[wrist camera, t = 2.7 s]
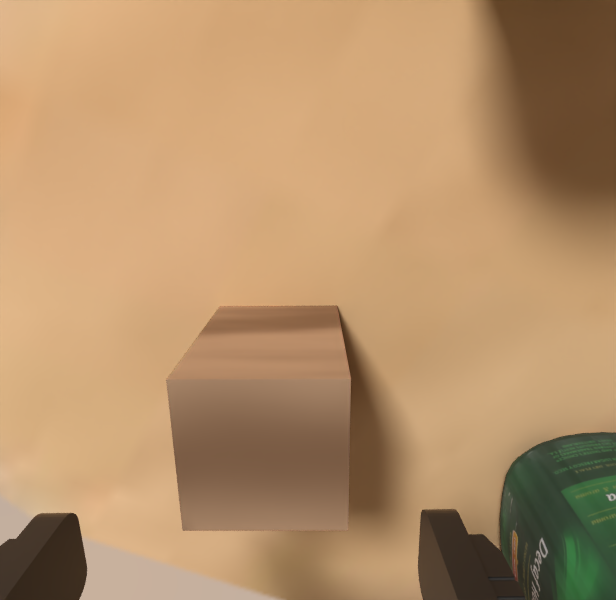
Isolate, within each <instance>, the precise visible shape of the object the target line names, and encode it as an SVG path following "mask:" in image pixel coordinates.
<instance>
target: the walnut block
mask: <svg viewBox="0 0 616 600" xmlns="http://www.w3.org/2000/svg"><path fill="white" fill-rule="evenodd" d="M166 381H167V390H168V400H169V409H170V418H171V427H172V437H173V446H174V455H175V464H176V474H177V483H178V492H179V501H180V511H181V520H182V529H183V531H348V512H349V458H350V403H351V376H350V371H349V366H348V361H347V355H346V350H345V345H344V339H343V334H342V329H341V324H340V318H339V313H338V308H337V306H220V307H219V308H218V310H217V311H216V312H215V314H214V315H213V316H212V318H211V319H210V321H209V322H208V323H207V325H206V326H205V327H204V329H203V330H202V332H201V333H200V334H199V336H198V337H197V338H196V340H195V341H194V342H193V344H192V345H191V347H190V348H189V349H188V351H187V352H186V353H185V355H184V356H183V358H182V359H181V360H180V362H179V363H178V364H177V366H176V367H175V368H174V370H173V371H172V373H171V374H170V375H169V377H168V378H167V379H166Z"/></svg>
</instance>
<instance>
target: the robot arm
mask: <svg viewBox="0 0 616 600" xmlns="http://www.w3.org/2000/svg"><path fill="white" fill-rule="evenodd" d="M418 573H419V582H420V588H421V593H422V597H423V600H526V599H525V595H524V593H523V591H522V589H521V587H520V585H519V583H518V581H516V580H515V576H514V574H513V572H512V570H511V568H510V566H509V564H508V563H507V561H506V559H505V557H504V555H503V553H502V552H501V551H500V550H499V549H498V548H497V547H496V546H495V545H494V544H493V543H492V542H490V541H489V540H488V539H487V538H486V537H485V536H484V535H483V534H475V535H468V533H467V531H466V528H465V526H464V524H463V522H462V520H461V518H460V515H459V513H458V512H457V511H456V510H455V509H437V510H422V513H421V522H420V539H419V556H418ZM86 576H87V564H86V558H85V553H84V547H83V542H82V536H81V531H80V526H79V520H78V517H77V516H76V514H74V513H42V514H38V515H37V516H35V517H34V518H33V519H32V520H31V522H30V523H29V524H28V525H27V526H26V528H25V529H24V530H23V531H22V532H21V534H20V535H19V536H18V537H17V538H16V539H9V540H7V541H6V542H5V543H3V544H2V545H1V546H0V600H79V598H80V597H81V594H82V592H83V589H84V585H85V581H86Z"/></svg>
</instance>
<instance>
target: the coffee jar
mask: <svg viewBox="0 0 616 600" xmlns="http://www.w3.org/2000/svg"><path fill="white" fill-rule="evenodd" d="M500 538H501V550H502V553H503V555H504V557H505V559H506V561H507V563H508V564H509V566H510V568H511V570H512V572H513V574H514V576H515V580H516V581H518V583H519V585H520V587H521V589H522V591H523V593H524V595H525V599H526V600H616V433H606V432H600V433H581V434H575V435H568V436H562V437H558V438H556V439H553V440H550V441H546V442H543V443H541V444H538V445H536V446H534V447H533V448H531V449H529V450H528V451H527V452H525V453H524V454H522V455H521V456H520V457H518V458H517V459H516V460H515V461H514V462H513V463H512V465H511V467H510V469H509V471H508V473H507V475H506V478H505V483H504V488H503V494H502V502H501V513H500Z"/></svg>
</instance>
